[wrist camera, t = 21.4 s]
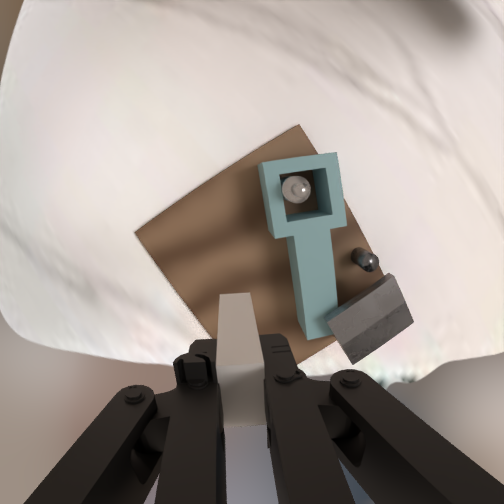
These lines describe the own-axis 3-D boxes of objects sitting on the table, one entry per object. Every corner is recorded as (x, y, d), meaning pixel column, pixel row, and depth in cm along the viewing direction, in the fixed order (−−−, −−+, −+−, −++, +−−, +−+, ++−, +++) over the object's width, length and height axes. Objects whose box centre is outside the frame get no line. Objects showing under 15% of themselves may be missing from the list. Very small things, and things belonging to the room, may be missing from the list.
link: (257, 164, 33) (262, 162, 28) (321, 155, 33) (336, 152, 28) (283, 323, 37) (290, 343, 32) (340, 310, 37) (355, 328, 32)
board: (136, 231, 34) (134, 232, 33) (298, 125, 33) (299, 124, 32) (254, 385, 39) (254, 388, 39) (393, 298, 38) (395, 299, 37)
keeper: (301, 283, 36) (317, 306, 29) (361, 243, 35) (388, 257, 29) (334, 336, 38) (352, 364, 31) (389, 298, 37) (416, 320, 31)
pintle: (269, 184, 34) (282, 185, 26) (287, 172, 34) (307, 170, 25) (280, 203, 34) (297, 210, 26) (299, 191, 34) (322, 195, 26)
